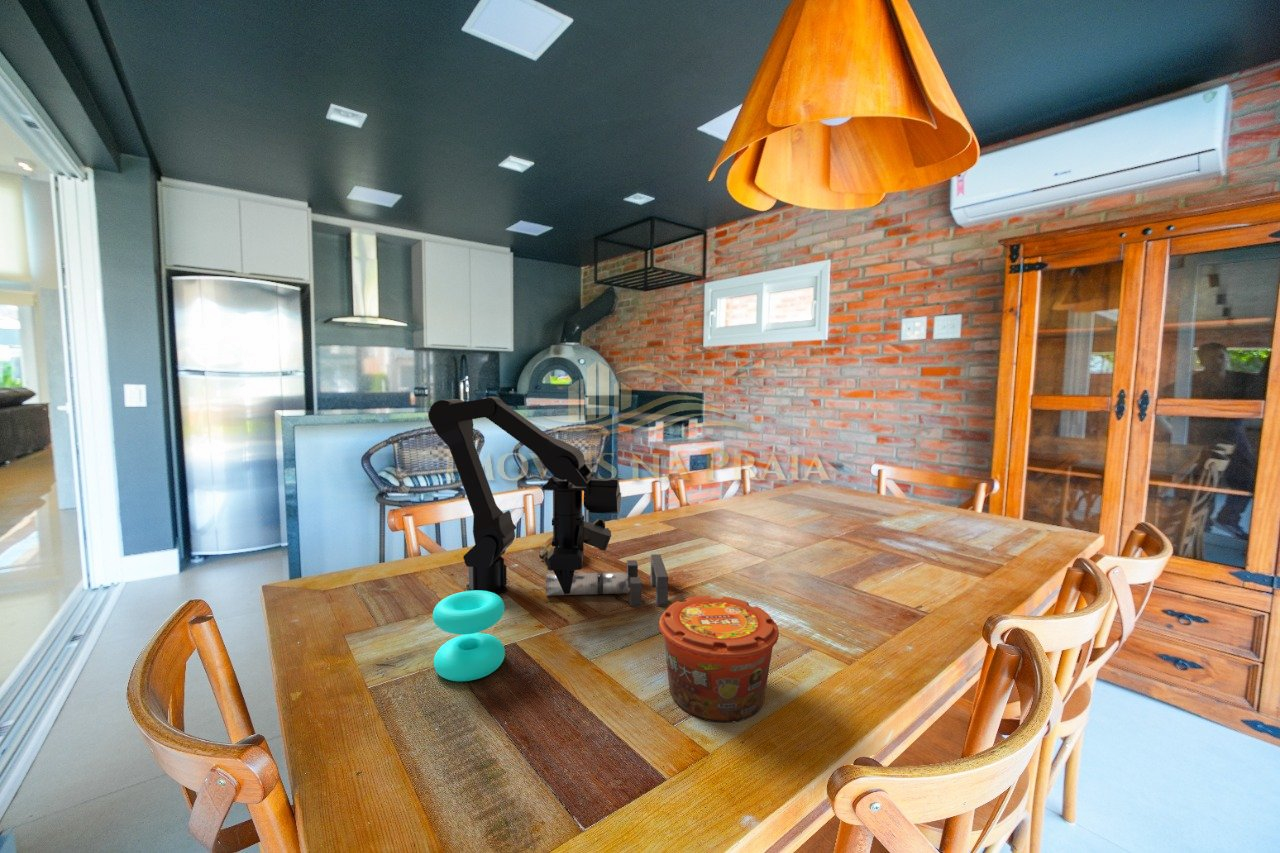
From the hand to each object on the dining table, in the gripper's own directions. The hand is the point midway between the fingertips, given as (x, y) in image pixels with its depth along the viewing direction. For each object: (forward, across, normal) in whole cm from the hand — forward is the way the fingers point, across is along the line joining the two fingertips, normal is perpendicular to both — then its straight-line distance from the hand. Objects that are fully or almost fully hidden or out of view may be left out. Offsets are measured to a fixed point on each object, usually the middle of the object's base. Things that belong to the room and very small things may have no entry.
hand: (567, 589), depth 102 cm
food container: (+2, -34, -22) cm, 40 cm away
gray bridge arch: (+1, 0, -18) cm, 18 cm away
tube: (+1, 0, -4) cm, 4 cm away
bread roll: (+1, +20, +3) cm, 21 cm away
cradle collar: (+1, 0, -13) cm, 13 cm away
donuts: (+1, -25, +13) cm, 28 cm away
